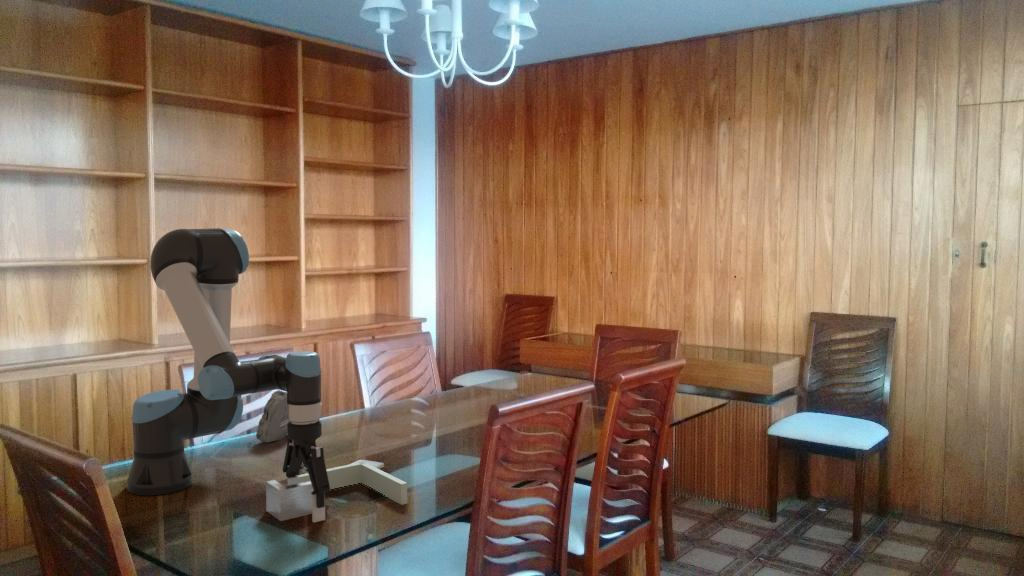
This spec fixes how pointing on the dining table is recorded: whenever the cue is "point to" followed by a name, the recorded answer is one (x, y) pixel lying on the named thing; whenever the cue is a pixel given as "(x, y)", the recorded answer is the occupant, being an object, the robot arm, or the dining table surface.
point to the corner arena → (365, 480)
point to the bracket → (288, 499)
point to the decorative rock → (274, 418)
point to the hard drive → (371, 463)
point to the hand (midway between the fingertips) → (306, 512)
